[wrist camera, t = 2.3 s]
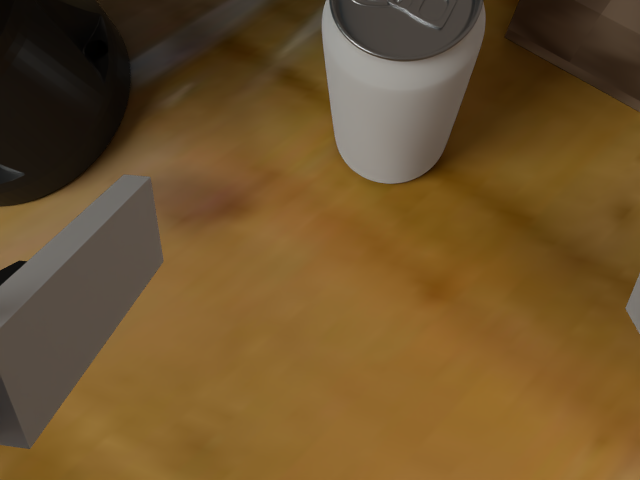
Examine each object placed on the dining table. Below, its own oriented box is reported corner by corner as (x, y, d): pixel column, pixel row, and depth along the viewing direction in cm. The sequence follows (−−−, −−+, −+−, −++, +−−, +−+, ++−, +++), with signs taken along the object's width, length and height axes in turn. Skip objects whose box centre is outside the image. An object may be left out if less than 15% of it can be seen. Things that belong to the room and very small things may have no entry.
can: (365, 68, 32) (365, -104, 21) (465, 110, 31) (525, -48, 19) (315, 158, 31) (286, 30, 19) (417, 205, 30) (450, 98, 18)
